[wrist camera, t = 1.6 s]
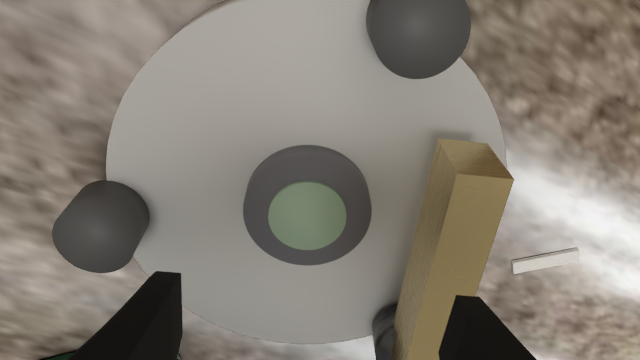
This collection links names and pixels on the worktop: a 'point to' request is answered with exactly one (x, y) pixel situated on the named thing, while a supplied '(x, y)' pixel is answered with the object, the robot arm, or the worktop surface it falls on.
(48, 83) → the worktop surface
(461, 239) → the lever
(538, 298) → the worktop surface
